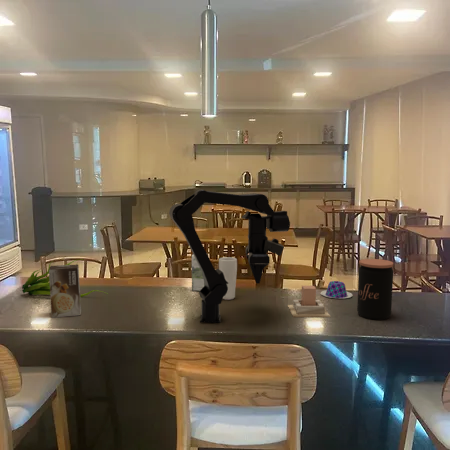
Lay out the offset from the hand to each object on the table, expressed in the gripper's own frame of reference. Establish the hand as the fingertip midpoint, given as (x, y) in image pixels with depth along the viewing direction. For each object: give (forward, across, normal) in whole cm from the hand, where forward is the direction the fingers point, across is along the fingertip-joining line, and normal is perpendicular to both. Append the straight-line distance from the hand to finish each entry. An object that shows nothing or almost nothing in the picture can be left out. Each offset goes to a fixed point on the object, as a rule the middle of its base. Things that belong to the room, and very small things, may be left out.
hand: (256, 279), depth 142 cm
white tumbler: (+12, +20, +9) cm, 25 cm away
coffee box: (+12, +2, +63) cm, 64 cm away
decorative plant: (+12, +22, +71) cm, 76 cm away
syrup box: (+12, +32, +20) cm, 40 cm away
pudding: (+13, +24, -33) cm, 43 cm away
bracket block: (+12, +4, -18) cm, 22 cm away
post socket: (+12, +4, -18) cm, 22 cm away
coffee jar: (+12, 0, -39) cm, 41 cm away
